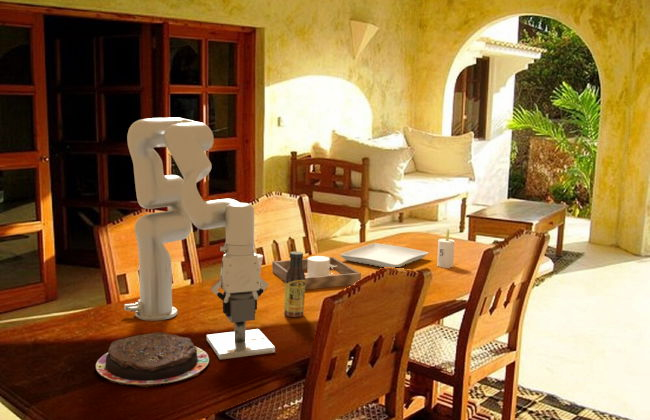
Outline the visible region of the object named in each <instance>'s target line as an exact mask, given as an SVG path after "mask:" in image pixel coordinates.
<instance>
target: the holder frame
mask: <svg viewBox="0 0 650 420" xmlns="http://www.w3.org/2000/svg"><path fill="white" fill-rule="evenodd" d="M327 257H328V258H329V259H330V264H331V265H333V266H336V267H333V269H332V270H334V269H335V271H336V270H337V271H336V272H337V273H339V272H340V274H331V275H328V276H317V277H307V276H305V277H306V278H305V290H313V289H322V288H323V289H325V288H333V287H334V288H335V287H336V288H337V287H345V286H353V285H352V284H354V283H355V282H357V281H358V280H360V279H361V280H362V273H361V272H359V271H358V270H356V269H355V268H352V267H351V266H349V265H348V264H345V263H344V262H342V261H340V260H339V259H337V258H336V257H333V256H327ZM271 264H272V266H271V267H272V269H271V270H272V271H271V273H273V274H274V275H276V276H277V277H278V278H279V279H281V280H282V281H283V282H285V281H286V274H287V271H288V269H289V268H290V260H288V259H287V260H275V261H272V263H271ZM302 268H303V270H304V271H306V270H307V268H308V258H302Z"/></svg>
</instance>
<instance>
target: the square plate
mask: <svg viewBox="0 0 650 420" xmlns="http://www.w3.org/2000/svg"><path fill="white" fill-rule="evenodd" d="M428 254H429V252H428V251H425V250H420V249H414V248H409V247H404V246H397V245H391V244H382V243H378V242H377V243H376V242H374V243H371V244H367V245H363V246H360V247H357V248H353V249H351V250H349V251H345V252H342V253H341V254H339V256H340V258H342V259H344V260H345V261H348V262H353V263H357V262H358V264H362V263H363V264H362V265H367V264H369V265H368V266H372V265H374V267H377V266H379V267H378V268H382V267H399V268H400V267H403V266H405V264H406V265H408V264H411V263H413V261H414V262H416V261H418V260H421V259H423V258H425V257H426V256H427V255H428Z"/></svg>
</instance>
